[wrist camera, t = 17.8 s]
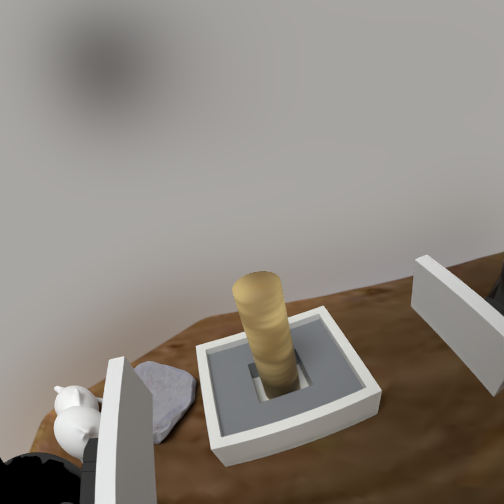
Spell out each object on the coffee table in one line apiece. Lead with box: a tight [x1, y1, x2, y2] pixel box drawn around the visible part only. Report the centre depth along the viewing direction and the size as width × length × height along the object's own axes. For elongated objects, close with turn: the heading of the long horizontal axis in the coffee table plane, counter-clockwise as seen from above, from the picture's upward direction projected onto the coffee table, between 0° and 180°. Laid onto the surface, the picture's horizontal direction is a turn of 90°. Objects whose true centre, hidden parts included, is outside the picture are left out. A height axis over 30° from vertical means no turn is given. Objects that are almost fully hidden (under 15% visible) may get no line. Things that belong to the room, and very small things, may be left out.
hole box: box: [196, 306, 382, 467], centre depth 35 cm, size 18×16×5 cm
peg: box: [232, 271, 301, 400], centre depth 32 cm, size 4×4×16 cm
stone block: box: [134, 361, 196, 444], centre depth 36 cm, size 12×5×10 cm
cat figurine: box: [54, 386, 103, 463], centre depth 32 cm, size 9×11×12 cm
